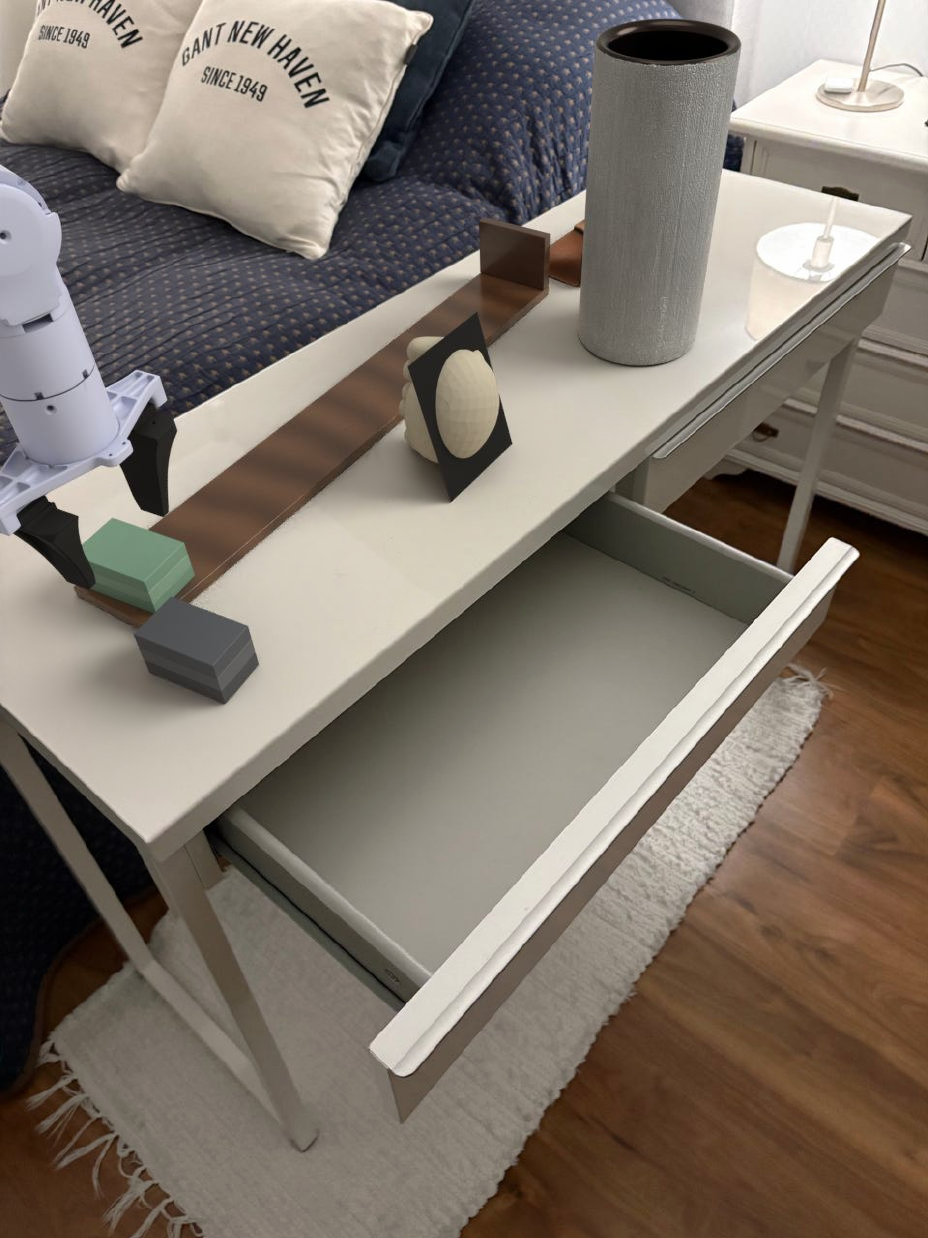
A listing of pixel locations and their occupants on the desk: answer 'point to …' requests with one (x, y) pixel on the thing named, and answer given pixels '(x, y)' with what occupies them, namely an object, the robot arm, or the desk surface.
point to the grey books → (197, 649)
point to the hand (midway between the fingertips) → (119, 545)
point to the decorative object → (454, 404)
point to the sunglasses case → (568, 257)
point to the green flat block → (156, 595)
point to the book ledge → (339, 421)
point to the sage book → (132, 554)
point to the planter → (653, 184)
